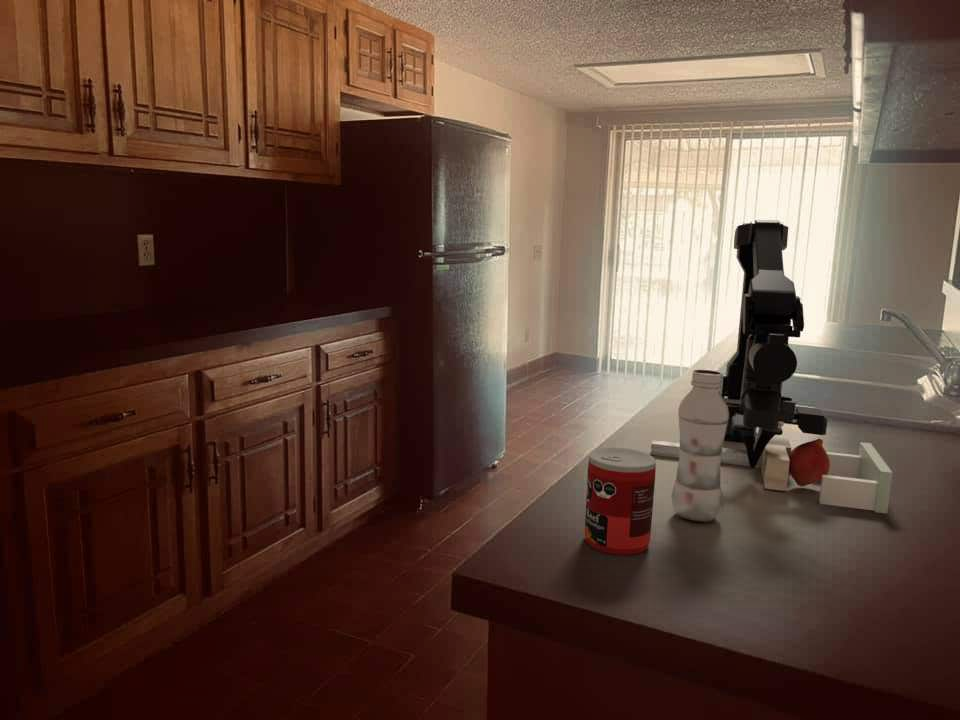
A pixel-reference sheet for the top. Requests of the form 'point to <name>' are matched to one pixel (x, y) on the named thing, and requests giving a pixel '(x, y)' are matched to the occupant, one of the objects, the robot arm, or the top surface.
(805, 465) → the red round solid
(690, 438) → the plastic bottle
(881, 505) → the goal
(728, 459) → the rail
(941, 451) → the top surface
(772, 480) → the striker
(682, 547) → the top surface
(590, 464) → the canned food
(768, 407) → the robot arm
